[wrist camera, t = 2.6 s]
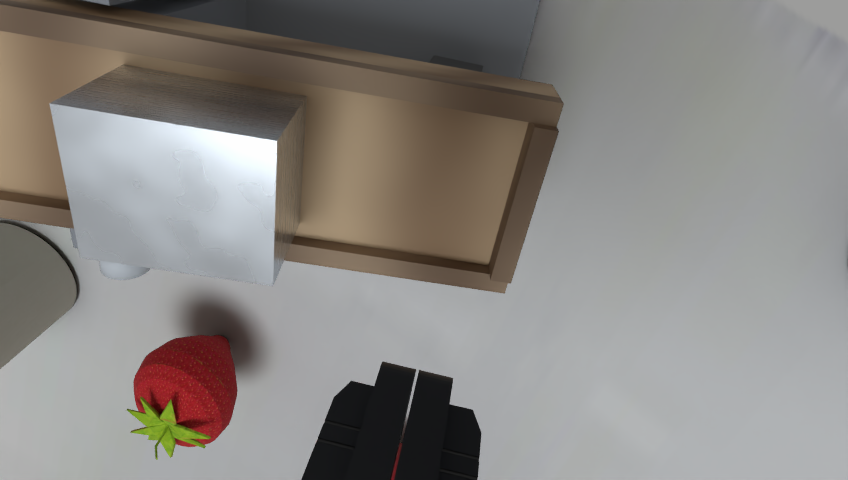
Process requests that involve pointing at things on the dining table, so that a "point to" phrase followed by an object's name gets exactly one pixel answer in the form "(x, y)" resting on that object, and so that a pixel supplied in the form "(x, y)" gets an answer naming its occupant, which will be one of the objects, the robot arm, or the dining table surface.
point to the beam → (308, 136)
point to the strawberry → (186, 392)
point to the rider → (183, 172)
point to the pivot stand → (369, 35)
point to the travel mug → (30, 289)
